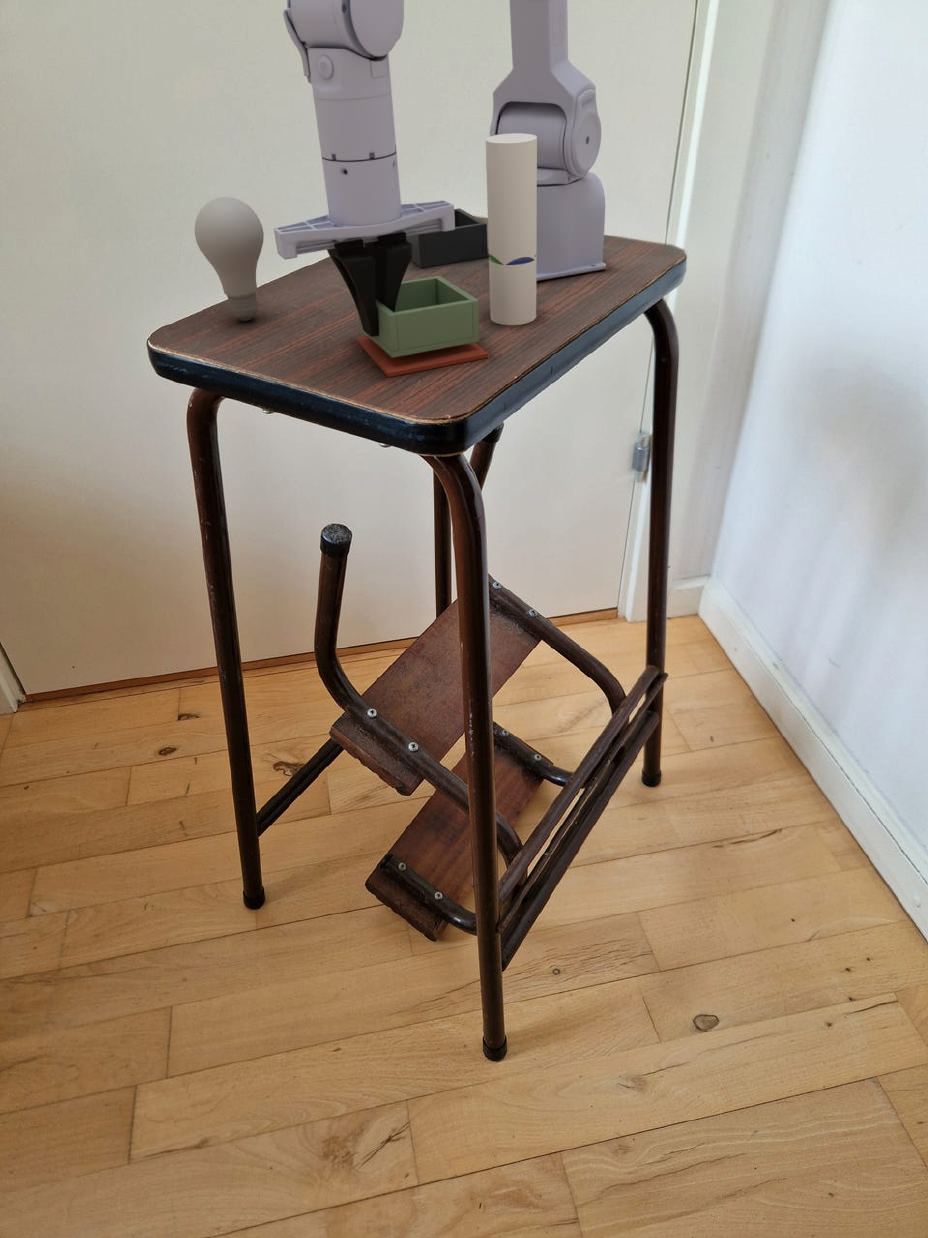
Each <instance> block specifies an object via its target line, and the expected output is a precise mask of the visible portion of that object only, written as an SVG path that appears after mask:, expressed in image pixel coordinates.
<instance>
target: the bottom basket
mask: <svg viewBox="0 0 928 1238" xmlns="http://www.w3.org/2000/svg"><path fill="white" fill-rule="evenodd" d="M454 216H455V230H451V231H441V230H437V231H431V232H425V233H419V234H414V235H408V236H406V240H407V241H408V242H409V243H411V244H412V249H413V253H412V259H411V261H410V262H412V263H414V264H415V265H416V266H418V267H419V268H420V269H422V268H423V269H424V268H429V267H435V266H436V267H437V266H441V265H446V264H447V265H449V264H453V263H459V262H465V261H471V260H477V259H483V258H488V256H489V248H488V223H486V222H484V221H483V220H481V219H479V218H477V217H476V216H474V215H472V214H471V213H469V212H467V211H465V210H464V209H462V208H454Z"/></svg>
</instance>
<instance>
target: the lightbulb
mask: <svg viewBox="0 0 928 1238" xmlns="http://www.w3.org/2000/svg"><path fill="white" fill-rule="evenodd" d="M194 237H195V243H196V244H197V246H198V248H199V250H200V252H201V253H202V255H203V256H204V258H205V259H206V261H207V262H208V263H209V264H210V265H211V266H212V268H213V269H214V271H215V273H216V275H217V276H218V279H219V281H220V284H221V287H222V290H223V294H224V295H226V297H227V300H228V305H229V309H230V311H231V315H232V316H233V317H235V318H236V319H237V318H238V319H239V320H240V321H243V322H246V321H250V320H252V319H253V317H254V316H255V315H257V314H258V312H259V309H258V300H257V294H256V292H257V291H258V285H257V269H258V268H257V267H258V263H259V259H260V256H261V253H262V249H263V246H264V237H265V235H264V229H263V224H262V222H261V220H260V218H259V216H258V214H257V212H256V211H254V209H253V208H252V207H251V206H250V205H249V204H248V203H245V202H244V201H242V200H240V199H237V198H236V197H229V196H219V197H216V198H214V199H211V200H210V201H208V202H207V203H205V205H203V206H202V208H200V210H199V212H198V214H197V215H196V219H195V221H194Z"/></svg>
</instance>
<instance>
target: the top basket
mask: <svg viewBox="0 0 928 1238" xmlns="http://www.w3.org/2000/svg"><path fill="white" fill-rule="evenodd" d="M375 301H376V308H377V315H378V322H379V336H374V337H370V336H369V335H368V334H367V333H366V332H365V331H363V327H362V323H361V320H360V316H359V313H358V312H357V319H358V329H359V330H360V331H361V332H362V333H363V334H365V335H366V336H368V337H369V338H371V339H372V340H373V341H374V342H375V343H376V344H377V345H379V346H380V347H381V348H382V349H383V350H384V351H385V352H386V353H388V354H389V355H390V356H391V357H392V358H394V357H399V356H405V355H410V354H415V353H421V352H426V351H432V350H437V349H442V348H448V347H453V346H458V345H464V344H469V343H479V342H480V300H479V299H477V298H475V297H474V296H473V295H472V294H469V293H468V292H466V291H464V290H463V289H462V288H459V287H458V286H457V285H455V284H453V283H452V282H450V281H449V280H447V279H446V278H444V277H442V276H441V275H435V276H428V277H424V278H422V277H421V278H416V279H409V280H402V283H401V286H400V290H399V294H398V298H397V303H396V308H395V312H392V311H391V310H390V309H388V308H387V307H386V306H385V305H383V304H382V303H381V302H379V301H378V300H377V299H376V298H375Z"/></svg>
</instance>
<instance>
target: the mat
mask: <svg viewBox="0 0 928 1238" xmlns="http://www.w3.org/2000/svg"><path fill="white" fill-rule="evenodd" d="M356 340H357V344H359V346H360V347H361V348H362V349H363V351H364V352H365V353H366V354H367V355H368V356H369V357H370V358H371V359H372V361H373V362H374V363H375V364H376V365H377V367H379V369H380V370H381V371H382V372H383V374H384V375H385V376H386V377H387V378H394V377H397V376H403V375H408V374H412V373H417V372H422V371H427V370H433V369H438V368H443V367H448V366H452V365H458V364H463V363H467V362H472V361H477V360H482V359H487V358H489V357H488V356H489V353H488V352H487V351H486V350H484V349H483V348H482V346H480V345H479V344H478V343H477V342H475V343H469V344H464V345H458V346H453V347H448V348H442V349H437V350H432V351H426V352H421V353H415V354H410V355H405V356H399V357H394V358H392V357H391V356H390V355H389V354H388V353H386V352H385V351H384V350H383V349H382V348H381V347H380V346H379V345H377V344H376V343H375V342H374V341H373V340H372V339H371V338H369V337H368V336H367V335H366V336H361V337H357V338H356Z"/></svg>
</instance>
